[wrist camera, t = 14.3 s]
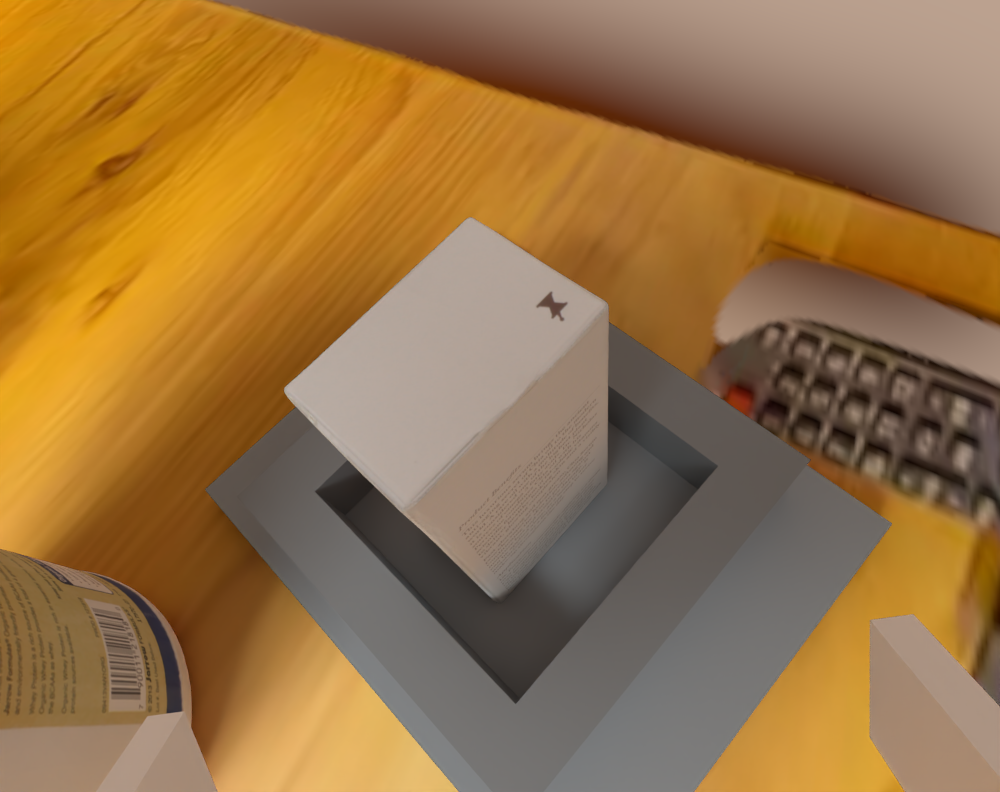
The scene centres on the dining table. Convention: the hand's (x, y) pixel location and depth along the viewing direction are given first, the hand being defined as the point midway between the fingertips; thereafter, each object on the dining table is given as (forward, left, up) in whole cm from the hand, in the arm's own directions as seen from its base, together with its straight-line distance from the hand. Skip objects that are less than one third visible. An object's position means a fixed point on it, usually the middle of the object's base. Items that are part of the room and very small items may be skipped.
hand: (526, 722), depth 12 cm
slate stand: (-6, +4, -11) cm, 13 cm away
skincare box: (-6, +4, -10) cm, 12 cm away
